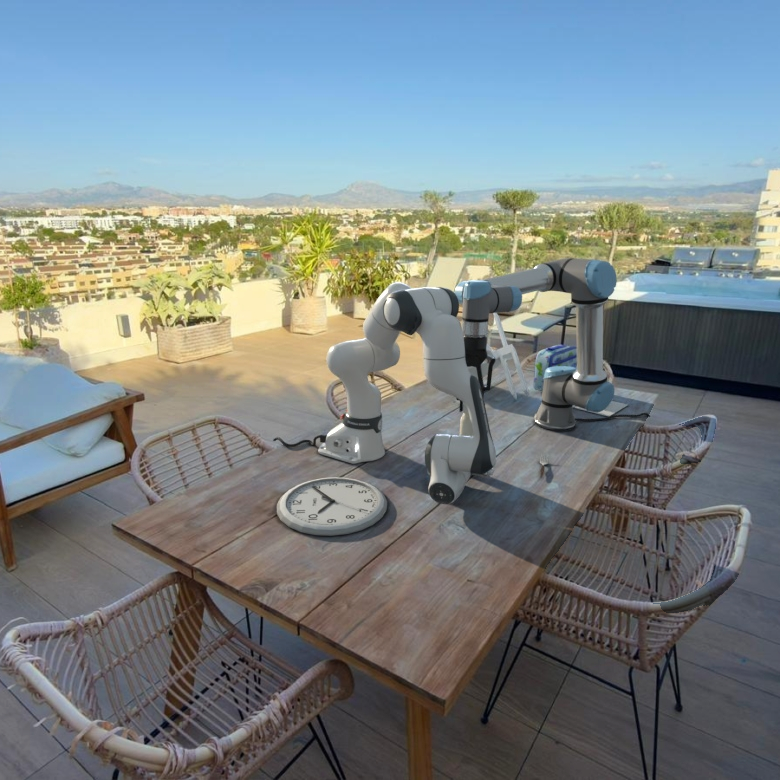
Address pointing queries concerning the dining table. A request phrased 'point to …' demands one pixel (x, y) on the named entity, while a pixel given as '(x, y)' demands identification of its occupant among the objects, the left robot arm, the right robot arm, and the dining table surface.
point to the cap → (464, 408)
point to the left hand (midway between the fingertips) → (466, 451)
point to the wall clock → (331, 506)
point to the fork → (543, 464)
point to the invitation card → (608, 408)
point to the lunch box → (553, 361)
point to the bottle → (465, 425)
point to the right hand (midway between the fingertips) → (469, 410)
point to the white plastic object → (503, 361)
